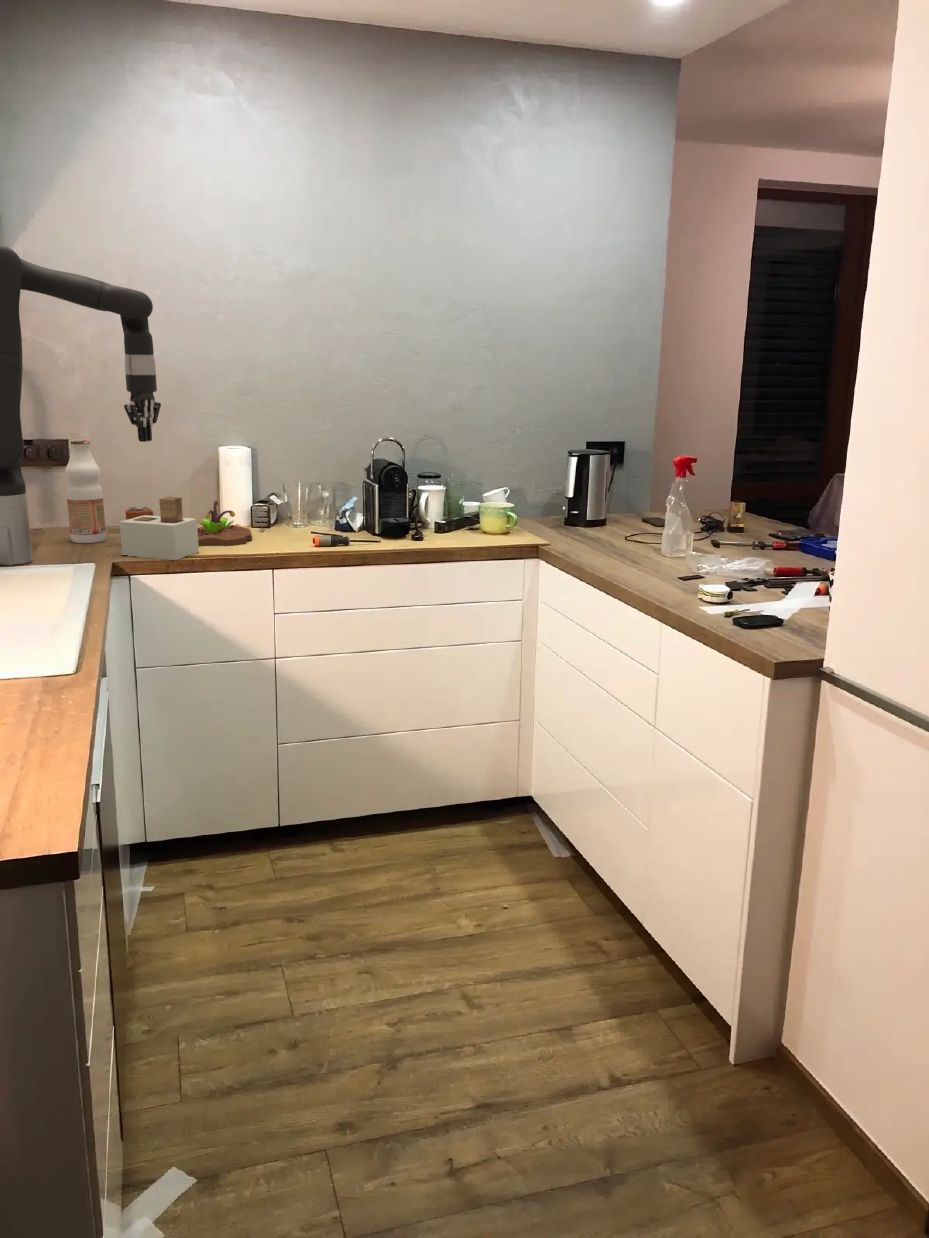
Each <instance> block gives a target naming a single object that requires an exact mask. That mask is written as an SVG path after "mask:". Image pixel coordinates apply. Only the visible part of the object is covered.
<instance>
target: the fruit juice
mask: <svg viewBox="0 0 929 1238" xmlns="http://www.w3.org/2000/svg"><path fill="white" fill-rule="evenodd" d="M90 444H91V441H90V439H87V438H85V439H84V438H77V439H76V438H75V439H70V446H71V453H70V456H69V460H68V462H67V465H66V467H65V471H64V475H65V478H66V480H67V487H66V502H67V514H68V522H69V523H68V525H69V536H70V540H71V542H73V543H76V544H95V543H100V542H104V541H106V539H107V530H106V517H105V507H104V505H105V504H104V493H103V487H102V486H101V483H100V479H101V469H100V467H99V465H98V464H97V462H96V460H95V459H94V456H93V454H92V452H91V449H90V446H91V445H90Z"/></svg>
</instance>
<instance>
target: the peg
mask: <svg viewBox="0 0 929 1238" xmlns="http://www.w3.org/2000/svg"><path fill="white" fill-rule="evenodd" d="M182 499H183V498H182V497H177V496H176V497H173V496H172V497H171V496H166V497H162V498H159V500H158V501H159V512H160V513H159V514H160V515H159V516H161V522H163V523H178V522H182V521H183V518H184V517H183V516H184V515H183V501H182Z"/></svg>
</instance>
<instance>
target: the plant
mask: <svg viewBox="0 0 929 1238" xmlns="http://www.w3.org/2000/svg"><path fill="white" fill-rule="evenodd" d="M218 506H219V501H217V500H214V501H213V507H212V509H209V511H208V512H207V513H206V514H205V518H201V521H202V522H201V521H198V524H200V525H202V526H199V527H197V530H198V547H209V546H210V547H230V546H231V547H232V546H240V545H247V543H249V542H252V541H253V533H252V532H251V531H252V530H251V529H250V528H247V527H244V526H241V525H240V524H235V525H234V524H233V523H234V522H235V519H234V520H230V521H229V518H228V517H225V516H224V515H225V514H227V513H229V515H230V517H233V518H234V517H235V515H236V513H235V512H234V511H233V510H225V511H224V510H223V511H222V512H221V513H220V514H219V515H218V511H217V510H218V508H217V507H218ZM209 518H210V520H209ZM228 521H229V522H228Z"/></svg>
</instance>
